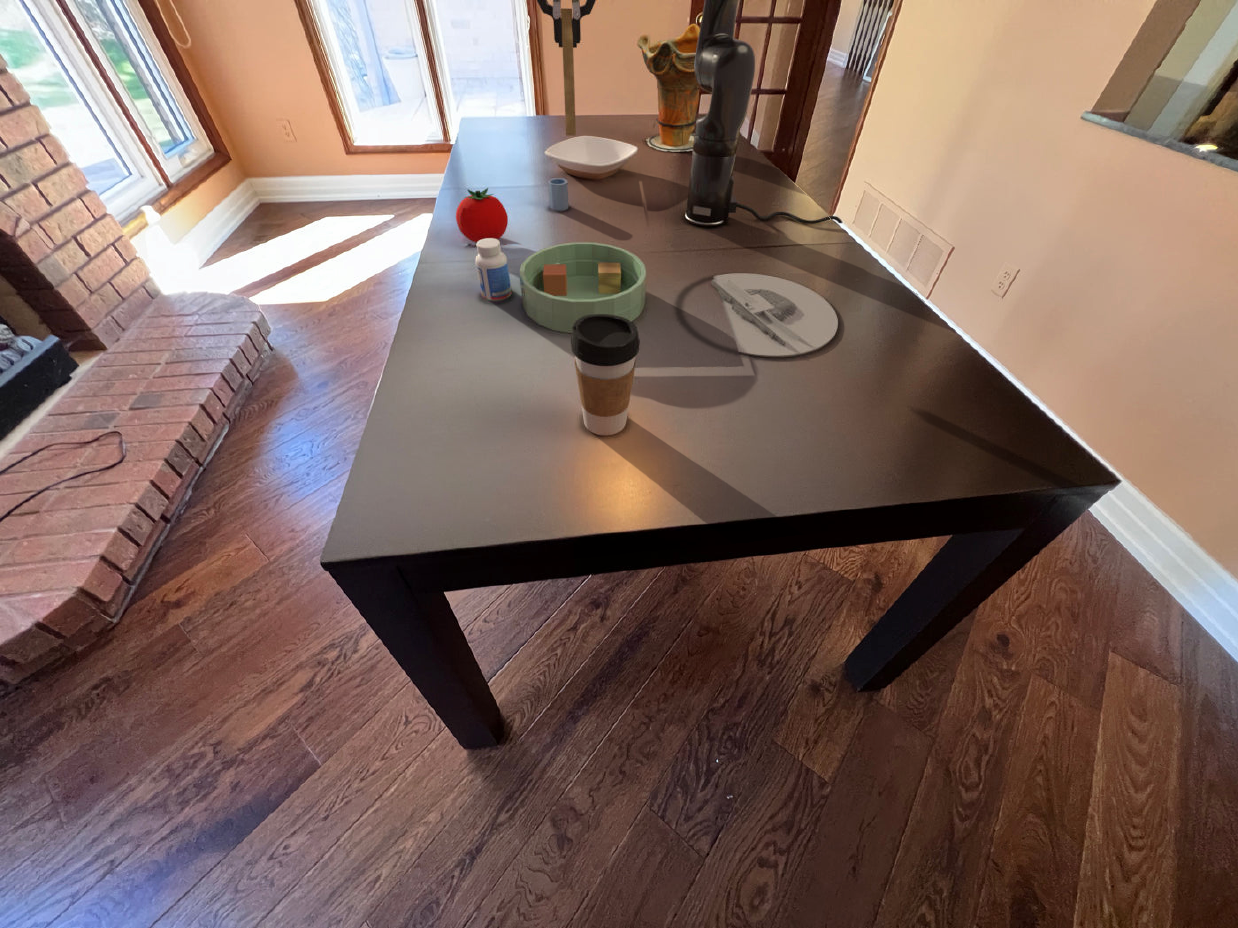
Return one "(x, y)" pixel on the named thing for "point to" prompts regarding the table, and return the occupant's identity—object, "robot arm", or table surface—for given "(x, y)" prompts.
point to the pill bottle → (492, 270)
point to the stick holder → (558, 194)
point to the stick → (568, 71)
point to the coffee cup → (604, 369)
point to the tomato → (481, 216)
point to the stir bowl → (581, 285)
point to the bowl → (591, 156)
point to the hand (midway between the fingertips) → (568, 46)
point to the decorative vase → (674, 88)
